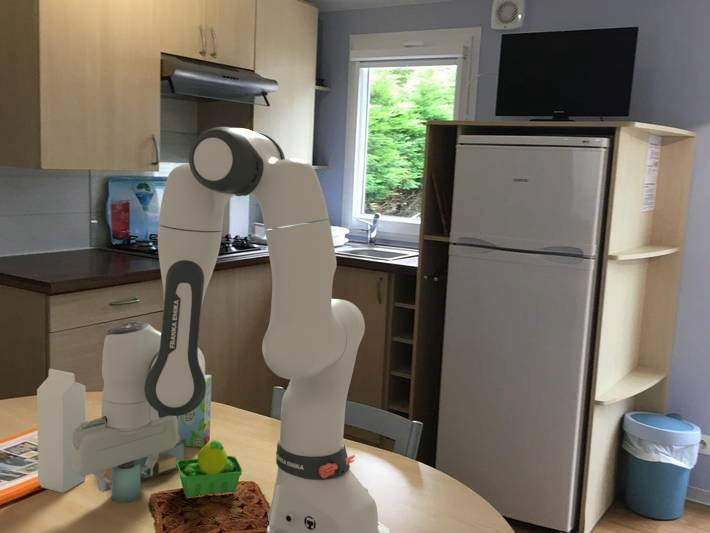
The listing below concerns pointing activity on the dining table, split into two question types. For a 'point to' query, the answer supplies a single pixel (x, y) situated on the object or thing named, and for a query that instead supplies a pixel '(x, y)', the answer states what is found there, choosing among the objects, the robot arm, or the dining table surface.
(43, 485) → the milk
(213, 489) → the fruit basket
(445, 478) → the dining table surface
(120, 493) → the capped canister
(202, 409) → the snack box
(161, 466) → the gray drawer
